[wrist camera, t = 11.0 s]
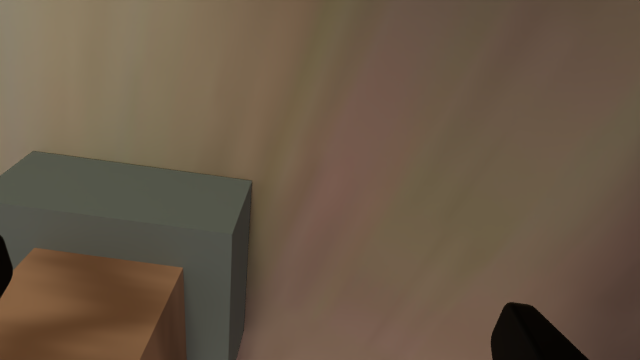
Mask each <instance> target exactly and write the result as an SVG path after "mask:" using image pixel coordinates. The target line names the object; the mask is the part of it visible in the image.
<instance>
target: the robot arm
mask: <svg viewBox="0 0 640 360" xmlns="http://www.w3.org/2000/svg"><path fill="white" fill-rule="evenodd" d="M12 276H13V265H12V262H11V259H10V256H9V253H8V250H7V247H6V244H5V241H4V239H3V237H2V236H1V235H0V298H1V297H2V295H3V293H4V292H5V290H6V288H7V287H8V285H9V283H10V281H11V279H12ZM491 351H492V359H493V360H589V359H588V358H587V357H586V356H584V355H583V354H582V353H581V352H580V351H579V350H578V349H577V348H576V347H575V346H574V345H573V344H572V343H571V342H570V341H569V340H568V339H567V338H566V337H565V336H564V335H563V334H562V333H561V332H560V331H558V330H557V329H556V328H555V327H554V326H553V325H552V324H551V323H550V322H549V321H548V320H547V319H546V318H545V317H544V316H543V315H542V314H541V313H540V312H539V311H538V310H537V309H536V308H534V307H533V306H531V305H528V304H521V303H514V302H510V303H507V304H506V305H505V306H504V308H503V310H502V312H501V314H500V317H499V319H498V321H497V323H496V325H495V328H494V330H493V332H492V336H491Z"/></svg>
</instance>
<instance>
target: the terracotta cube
mask: <svg viewBox="0 0 640 360" xmlns="http://www.w3.org/2000/svg"><path fill="white" fill-rule="evenodd" d="M0 360H187V354H186V329H185V304H184V280H183V268H182V267H174V266H167V265H159V264H152V263H144V262H137V261H129V260H122V259H115V258H107V257H100V256H92V255H85V254H77V253H70V252H62V251H55V250H47V249H40V248H34V249H33V250H32V251H31V252H30V253H29V254H28V255H27V256H26V257H25V258H24V259H23V260H22V261H21V262H20V263H19V265H18V266H17V267H16V268H15V269H14V270H13V276H12V279H11V281H10V283H9V285H8V287H7V288H6V290H5V292H4V293H3V295H2V297H1V298H0Z"/></svg>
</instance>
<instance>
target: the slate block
mask: <svg viewBox="0 0 640 360" xmlns="http://www.w3.org/2000/svg"><path fill="white" fill-rule="evenodd" d="M251 186H252V181H250V180H242V179H235V178H227V177H220V176H213V175H205V174H198V173H191V172H183V171H176V170H169V169H161V168H154V167H146V166H139V165H132V164H124V163H117V162H110V161H102V160H95V159H88V158H80V157H73V156H65V155H58V154H51V153H43V152H36V151H32V152H31V153H30V154H28V155H27V156H26V157H24V158H23V159H22V160H20V161H19V162H18V163H17V164H15V165H14V166H13V167H11V168H10V169H9V170H7V171H6V172H5V173H3V174H2V175H1V176H0V235H1V236H2V237H3V239H4V241H5V244H6V247H7V250H8V253H9V256H10V259H11V262H12V265H13V270H14V269H15V268H16V267H17V266H18V265H19V263H20V262H21V261H22V260H23V259H24V258H25V257H26V256H27V255H28V254H29V253H30V252H31V251H32V250H33V249H34V248H40V249H47V250H55V251H62V252H70V253H77V254H85V255H92V256H100V257H107V258H115V259H122V260H129V261H137V262H144V263H152V264H159V265H167V266H174V267H182V268H183V280H184V304H185V329H186V354H187V360H236V358H237V355H238V351H239V347H240V343H241V339H242V335H243V331H244V316H245V297H246V279H247V260H248V241H249V223H250V204H251Z"/></svg>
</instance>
